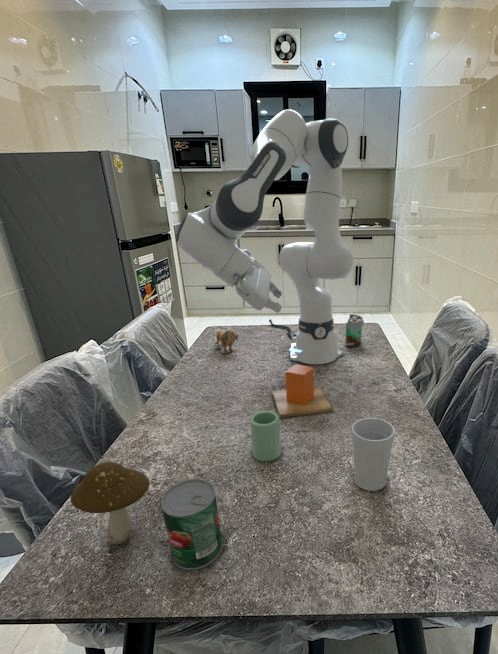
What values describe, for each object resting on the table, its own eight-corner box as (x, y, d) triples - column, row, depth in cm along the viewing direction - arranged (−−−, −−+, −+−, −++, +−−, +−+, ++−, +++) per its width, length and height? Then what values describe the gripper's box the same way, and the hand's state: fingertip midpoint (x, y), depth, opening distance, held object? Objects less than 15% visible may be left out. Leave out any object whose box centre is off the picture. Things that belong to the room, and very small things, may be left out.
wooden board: (272, 393, 111) (272, 390, 111) (319, 388, 114) (319, 385, 114) (279, 418, 99) (279, 414, 98) (332, 411, 102) (332, 407, 101)
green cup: (251, 446, 88) (248, 412, 84) (278, 443, 89) (276, 409, 85) (254, 463, 82) (251, 427, 78) (283, 459, 83) (281, 423, 80)
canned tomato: (161, 561, 60) (148, 507, 55) (192, 524, 67) (182, 474, 62) (204, 577, 57) (194, 521, 53) (232, 537, 64) (225, 485, 60)
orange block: (286, 401, 105) (285, 371, 101) (296, 392, 109) (295, 364, 106) (304, 405, 103) (303, 375, 99) (314, 396, 107) (313, 367, 103)
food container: (361, 349, 143) (362, 323, 139) (345, 348, 144) (346, 322, 140) (364, 338, 154) (365, 314, 150) (349, 337, 155) (349, 313, 151)
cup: (343, 473, 79) (344, 423, 74) (376, 463, 81) (379, 414, 77) (362, 498, 72) (365, 445, 67) (398, 486, 75) (403, 434, 70)
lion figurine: (242, 352, 142) (240, 329, 138) (230, 356, 138) (227, 333, 135) (220, 343, 151) (218, 321, 148) (208, 346, 148) (206, 324, 144)
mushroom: (151, 560, 60) (131, 484, 54) (76, 565, 60) (48, 489, 54) (167, 516, 69) (152, 446, 63) (102, 520, 68) (80, 450, 62)
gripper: (239, 273, 85) (288, 310, 91) (247, 248, 102) (287, 280, 108) (223, 293, 87) (271, 328, 93) (234, 265, 105) (273, 296, 110)
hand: (280, 302), depth 100 cm, fingers open, 8 cm apart
